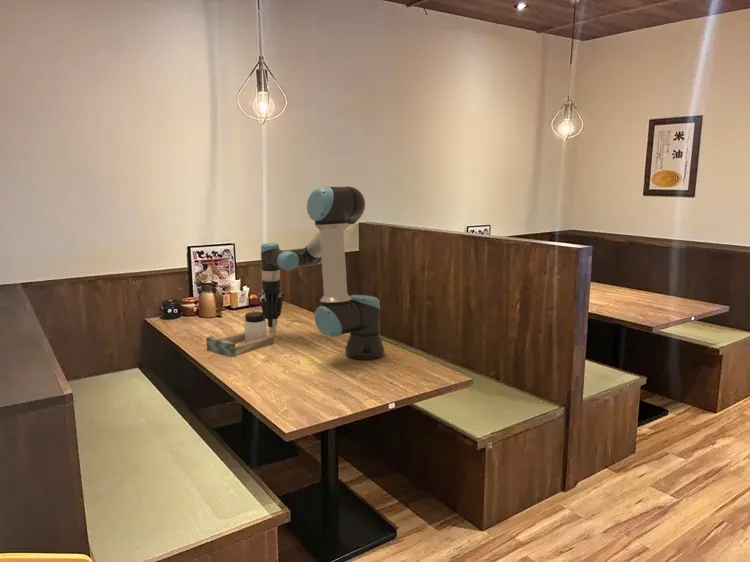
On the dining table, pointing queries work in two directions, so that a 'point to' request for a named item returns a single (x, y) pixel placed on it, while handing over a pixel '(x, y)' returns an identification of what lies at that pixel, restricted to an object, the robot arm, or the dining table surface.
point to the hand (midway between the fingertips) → (272, 333)
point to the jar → (255, 326)
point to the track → (229, 348)
